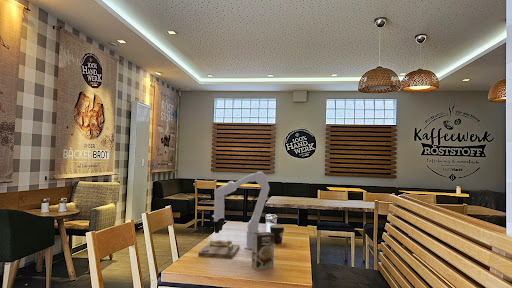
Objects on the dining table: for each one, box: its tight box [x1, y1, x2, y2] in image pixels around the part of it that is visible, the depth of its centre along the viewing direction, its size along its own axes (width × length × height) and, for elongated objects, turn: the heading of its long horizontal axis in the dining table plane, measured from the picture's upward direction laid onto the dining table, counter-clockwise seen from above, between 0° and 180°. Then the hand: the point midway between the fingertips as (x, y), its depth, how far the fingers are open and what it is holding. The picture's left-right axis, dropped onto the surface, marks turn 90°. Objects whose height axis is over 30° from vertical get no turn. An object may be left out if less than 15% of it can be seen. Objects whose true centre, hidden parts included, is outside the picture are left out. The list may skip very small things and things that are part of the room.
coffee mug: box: [269, 224, 285, 245], centre depth 216 cm, size 12×9×10 cm
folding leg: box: [209, 239, 233, 246], centre depth 197 cm, size 12×3×3 cm, turn 82°
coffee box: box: [251, 231, 275, 271], centre depth 167 cm, size 9×6×16 cm
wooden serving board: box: [198, 242, 240, 259], centre depth 191 cm, size 18×20×4 cm
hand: (218, 231), depth 203 cm, fingers open, 6 cm apart
